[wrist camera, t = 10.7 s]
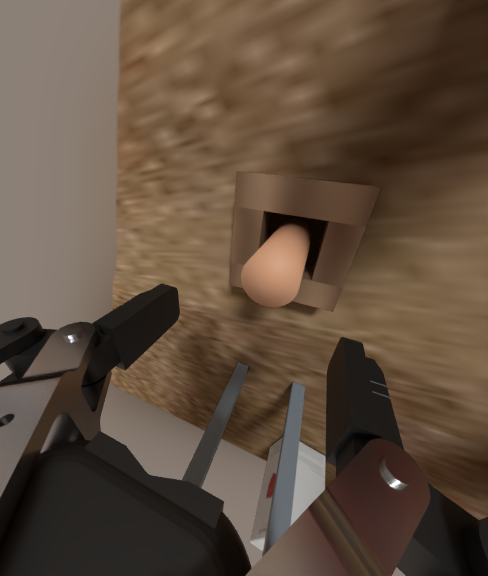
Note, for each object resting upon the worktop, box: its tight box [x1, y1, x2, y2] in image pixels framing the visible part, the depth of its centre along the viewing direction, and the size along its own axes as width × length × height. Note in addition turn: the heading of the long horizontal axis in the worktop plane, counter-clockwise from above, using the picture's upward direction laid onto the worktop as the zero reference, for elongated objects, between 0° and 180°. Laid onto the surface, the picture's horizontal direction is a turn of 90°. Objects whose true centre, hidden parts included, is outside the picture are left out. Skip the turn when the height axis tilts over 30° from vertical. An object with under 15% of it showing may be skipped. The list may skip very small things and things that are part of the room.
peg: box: [241, 219, 312, 307], centre depth 19 cm, size 4×4×12 cm
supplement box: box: [250, 438, 325, 551], centre depth 38 cm, size 9×9×15 cm
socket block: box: [230, 172, 381, 312], centre depth 22 cm, size 12×12×4 cm
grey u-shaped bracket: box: [182, 362, 305, 568], centre depth 22 cm, size 12×17×24 cm
